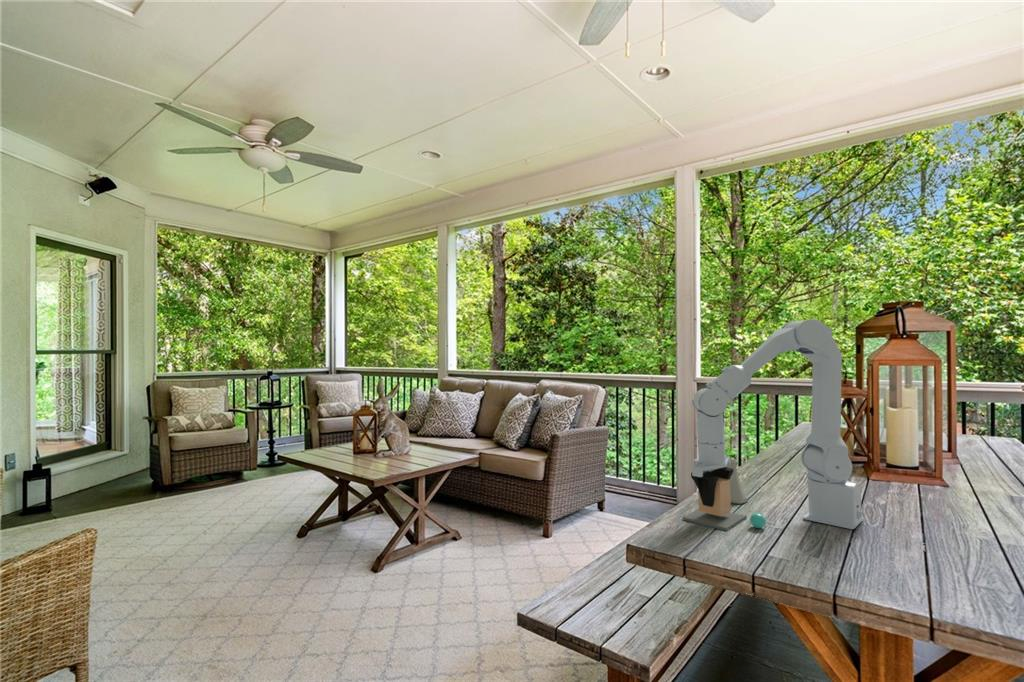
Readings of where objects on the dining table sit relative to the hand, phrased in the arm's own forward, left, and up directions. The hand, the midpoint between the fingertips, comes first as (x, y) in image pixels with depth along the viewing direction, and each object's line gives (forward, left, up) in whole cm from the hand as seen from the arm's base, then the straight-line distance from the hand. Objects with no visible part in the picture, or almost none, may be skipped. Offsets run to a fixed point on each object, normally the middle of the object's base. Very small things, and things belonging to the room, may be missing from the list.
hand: (713, 502), depth 109 cm
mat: (0, 0, -4) cm, 4 cm away
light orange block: (0, 0, -2) cm, 2 cm away
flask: (+3, -16, -4) cm, 17 cm away
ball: (-9, -1, -4) cm, 10 cm away
